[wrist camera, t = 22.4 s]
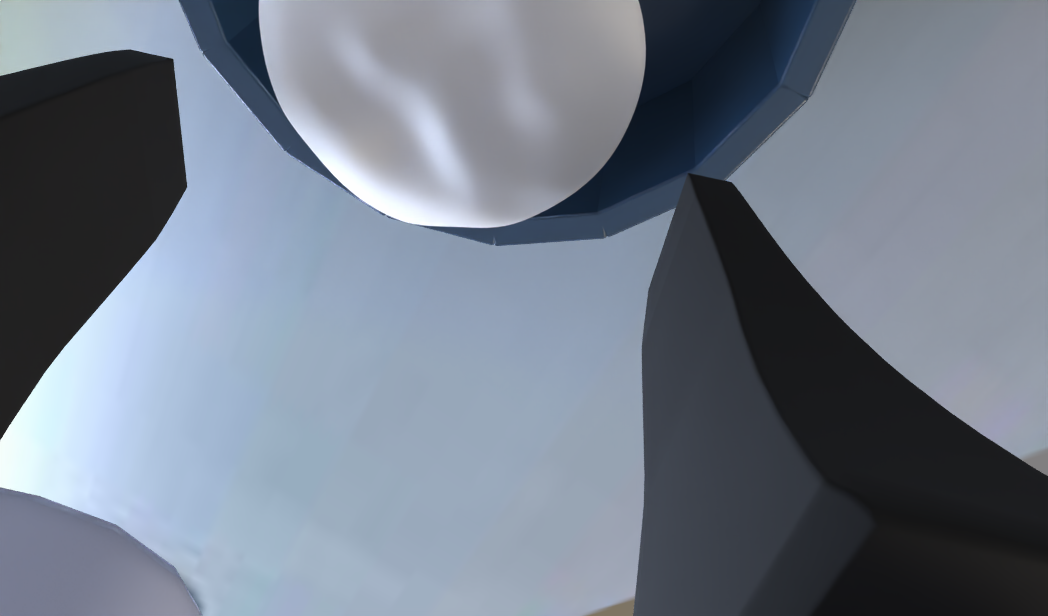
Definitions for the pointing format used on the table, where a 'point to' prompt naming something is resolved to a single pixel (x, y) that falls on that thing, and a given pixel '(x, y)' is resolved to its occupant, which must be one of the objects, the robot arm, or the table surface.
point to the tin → (660, 115)
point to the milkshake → (457, 98)
